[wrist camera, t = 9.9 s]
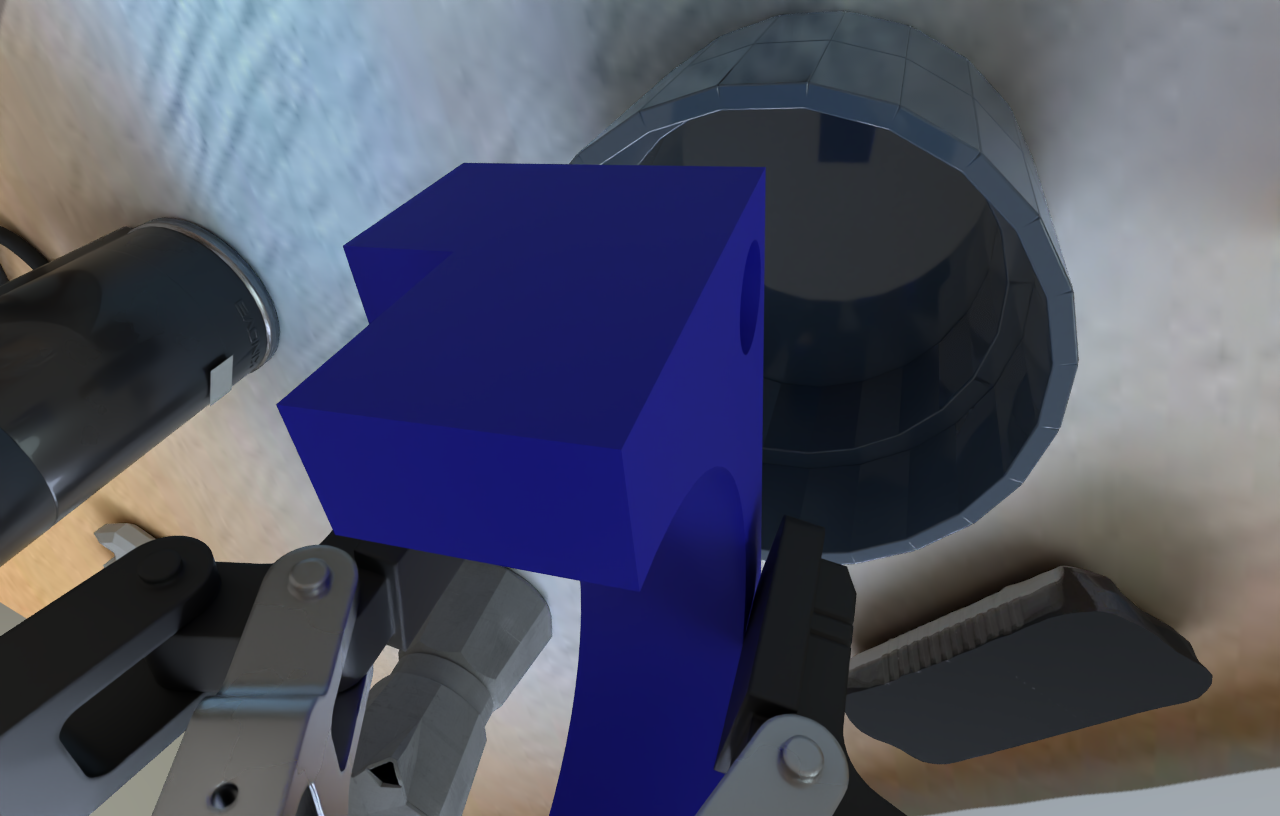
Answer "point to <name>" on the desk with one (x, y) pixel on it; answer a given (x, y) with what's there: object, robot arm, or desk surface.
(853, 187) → the bucket
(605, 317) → the blue long angular piece
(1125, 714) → the dark rounded block
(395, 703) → the coffeepot
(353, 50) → the desk surface
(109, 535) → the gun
